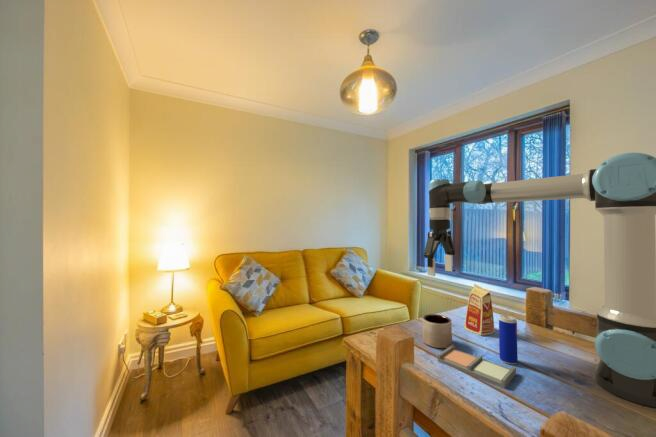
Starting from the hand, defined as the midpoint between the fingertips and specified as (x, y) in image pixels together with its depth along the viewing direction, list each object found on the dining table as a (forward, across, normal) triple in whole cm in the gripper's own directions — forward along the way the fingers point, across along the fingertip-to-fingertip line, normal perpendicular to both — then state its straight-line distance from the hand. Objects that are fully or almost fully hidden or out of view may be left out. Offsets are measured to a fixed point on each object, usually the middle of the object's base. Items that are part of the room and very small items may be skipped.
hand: (440, 273), depth 104 cm
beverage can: (+28, -6, +21) cm, 36 cm away
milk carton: (+28, -25, +5) cm, 38 cm away
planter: (+28, 0, -2) cm, 28 cm away
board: (+28, +7, +15) cm, 33 cm away
